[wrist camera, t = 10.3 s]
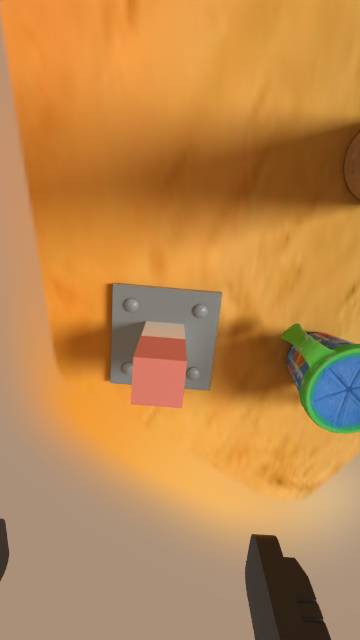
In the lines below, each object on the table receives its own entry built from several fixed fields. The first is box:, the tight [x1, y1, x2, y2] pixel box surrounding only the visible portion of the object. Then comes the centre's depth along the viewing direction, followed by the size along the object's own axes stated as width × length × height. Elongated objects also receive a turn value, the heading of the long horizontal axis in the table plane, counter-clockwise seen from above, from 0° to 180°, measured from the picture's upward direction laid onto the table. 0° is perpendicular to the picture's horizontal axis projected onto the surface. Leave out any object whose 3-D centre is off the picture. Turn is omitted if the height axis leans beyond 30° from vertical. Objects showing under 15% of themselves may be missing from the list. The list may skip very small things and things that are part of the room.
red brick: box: [131, 336, 187, 408], centre depth 31 cm, size 5×5×6 cm
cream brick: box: [141, 321, 185, 339], centre depth 37 cm, size 5×5×6 cm
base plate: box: [110, 283, 222, 390], centre depth 40 cm, size 14×14×1 cm
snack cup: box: [281, 324, 360, 433], centre depth 37 cm, size 16×10×10 cm
